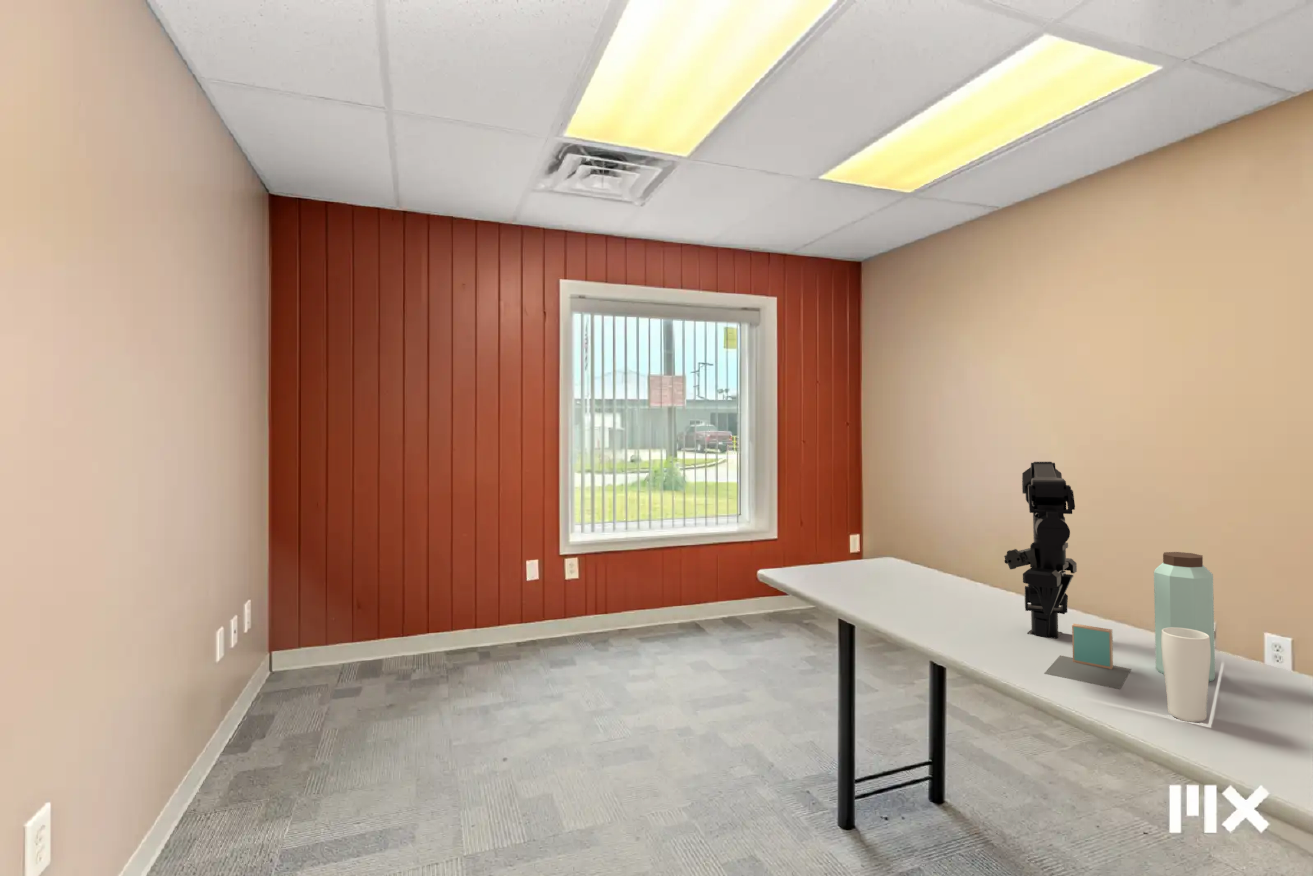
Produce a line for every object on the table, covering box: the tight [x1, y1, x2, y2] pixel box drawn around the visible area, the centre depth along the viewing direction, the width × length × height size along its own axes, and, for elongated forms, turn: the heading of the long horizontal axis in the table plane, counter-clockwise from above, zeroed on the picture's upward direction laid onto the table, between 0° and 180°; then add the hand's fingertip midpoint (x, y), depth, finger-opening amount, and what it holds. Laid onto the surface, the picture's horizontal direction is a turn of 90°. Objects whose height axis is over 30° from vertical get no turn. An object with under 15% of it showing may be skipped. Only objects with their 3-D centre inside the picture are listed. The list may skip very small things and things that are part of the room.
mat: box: [1043, 654, 1132, 690], centre depth 136 cm, size 14×13×1 cm
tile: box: [1071, 623, 1114, 669], centre depth 139 cm, size 2×7×8 cm, turn 46°
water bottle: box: [1153, 551, 1216, 682], centre depth 133 cm, size 10×10×25 cm
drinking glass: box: [1161, 627, 1211, 723], centre depth 115 cm, size 7×7×15 cm
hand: (1051, 611), depth 139 cm, fingers open, 6 cm apart
